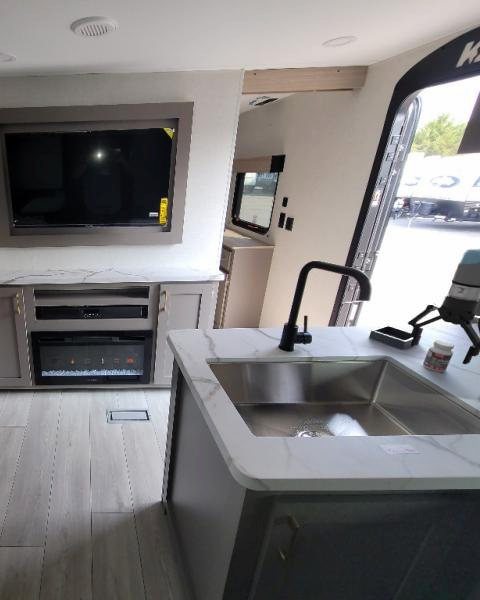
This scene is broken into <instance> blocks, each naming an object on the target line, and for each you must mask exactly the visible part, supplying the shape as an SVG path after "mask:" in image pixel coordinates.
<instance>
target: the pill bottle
mask: <svg viewBox="0 0 480 600" xmlns="http://www.w3.org/2000/svg"><path fill="white" fill-rule="evenodd" d="M454 348H455V345H454V344H453V343H451V342H449V341H446V340H441V339H437V340H434V341H433V345H431V346H430V347H429V348H428V350H427V353H426V355H425V357H424V359H423V362H422V365H423V367H424V368H426V369H427V370H430V371H433V372H437V373H438V372H439V373H441V372H443V373H444V372H445V371H447V369H448V366H449V364H450V362H451V359H452V357H453V354H454V352H453V349H454Z"/></svg>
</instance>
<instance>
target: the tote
mask: <svg viewBox="0 0 480 600" xmlns="http://www.w3.org/2000/svg"><path fill="white" fill-rule="evenodd" d="M411 333H412V331H411V332H410V331H407V330H404V329H402V328H401V329H400V328H397V327H394V326H391V325H388V324H387V325H383V326H380V327H377V328H374V329H371V330H370V332H369V336H368V338H369V339H370V340H374V341H377V342H379V343H381V344H385V345H388V346H390V347H394V348H396V349H399V350H400V351H401V350H403V351H404V350H406V349H408V348H412V346H411V342H412V340H413V337H414V336H411ZM421 338H422V335H421V336H420V338H419V341H418V343H417V345H418V344H420V341H421Z"/></svg>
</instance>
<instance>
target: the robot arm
mask: <svg viewBox="0 0 480 600" xmlns="http://www.w3.org/2000/svg"><path fill="white" fill-rule="evenodd" d="M446 293H447V294H445V296H444V298H443V301H442V303H441V305H440V306H439V305H437V304H436V303H434V302H433V303H430V304H427V305H426V307H425V309H424V310H423V311H421V312H420V313H419V314H418V315H416V316H415V317H413V318H412V319H410V320H409V321H408V322H407V325H409V326H411V327H412V330H411V336H414V337H413V340H412V342H411V347H414V346H417V345H418V344H417V343H418V341H419V338H420V336H421V337H422V333H423V331H424V328H423V327H424V326H427V325H429V324H432V323H435V322H437V321H441V320H442V321H443V322H444V323H450V324H452V325H455V326H457V325H459V326H460V328H461V329H462V330H463V331H464V333H465V334H466V335H467V337H468V339H469V340H470V342H471V343H472V345H470V346H469V348H468V350H467V352H466V354H465V356H464V358H463V361H462V364H463V365H468V364H470V362H471V361H472V358H473V357H477V356H478V355H479V354H480V337H479V335H478V334H477V331H475V329H474V327H473V325H472V324H473V323H471V321H473V320H474V321H475V323H476V324H477V328H478V332H479V334H480V316H478V315H475V312H476V310H477V309H478V307H479V304H480V248H469V249H466V250H465V251H464V252H463V253H462V255H461V257H460V260H459V261H458V264H457V266H456V268H455V270H454V274H453V277H452V279H451V281H450V284H449V286H448V289H447V291H446ZM436 310H437V312H438V315H437V316H434V317H432V318H429V319H427V320H424V321H422V322H419V321H421V320H423V318H425V317H426V316H427V315H429V314H430V313H432V312H435V311H436ZM418 322H419V323H418ZM419 342H420V341H419Z"/></svg>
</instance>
